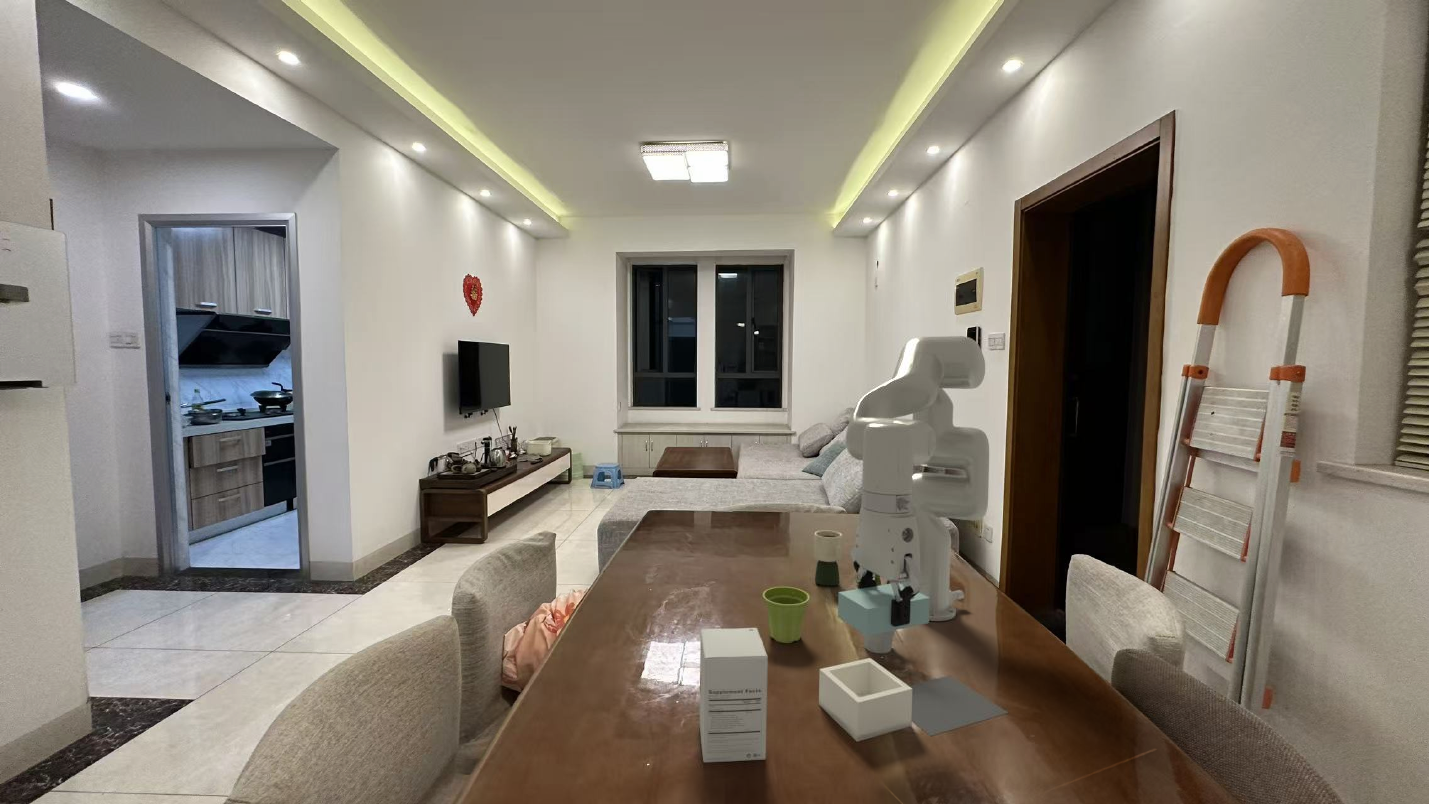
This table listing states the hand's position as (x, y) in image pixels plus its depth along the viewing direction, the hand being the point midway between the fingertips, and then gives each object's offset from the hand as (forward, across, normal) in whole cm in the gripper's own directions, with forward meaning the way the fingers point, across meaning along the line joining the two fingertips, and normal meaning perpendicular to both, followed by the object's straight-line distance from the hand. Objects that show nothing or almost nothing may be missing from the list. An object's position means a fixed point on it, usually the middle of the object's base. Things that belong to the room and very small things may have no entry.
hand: (882, 613), depth 89 cm
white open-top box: (+16, +1, +3) cm, 16 cm away
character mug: (+16, +50, -25) cm, 58 cm away
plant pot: (+16, +29, 0) cm, 33 cm away
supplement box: (+16, +3, +25) cm, 30 cm away
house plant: (+16, +17, -16) cm, 28 cm away
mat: (+16, -2, -11) cm, 20 cm away
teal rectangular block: (+1, 0, 0) cm, 1 cm away
